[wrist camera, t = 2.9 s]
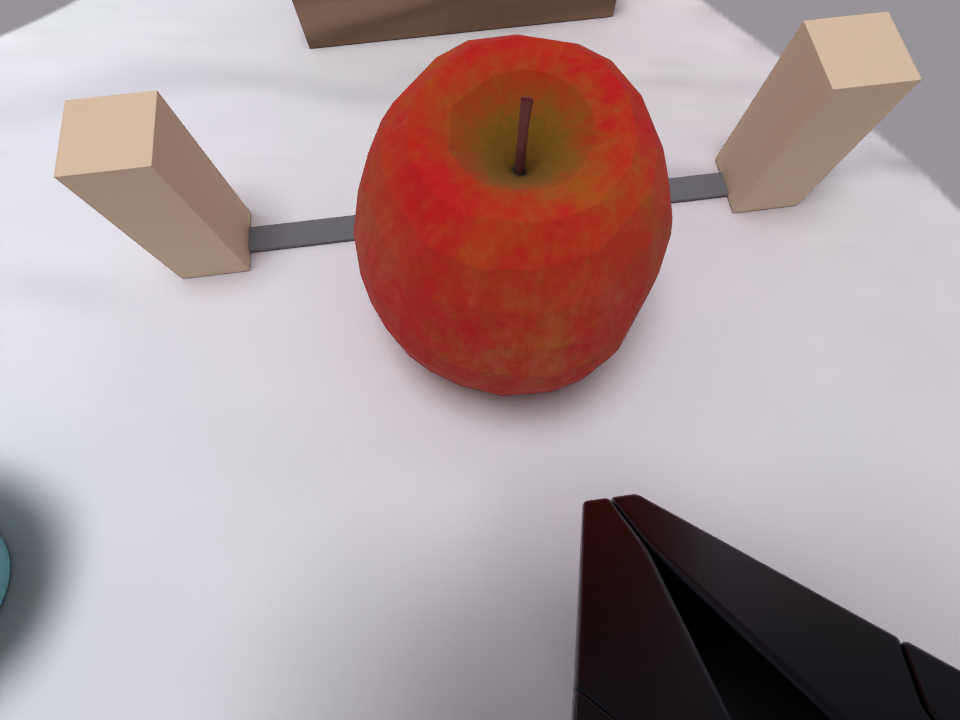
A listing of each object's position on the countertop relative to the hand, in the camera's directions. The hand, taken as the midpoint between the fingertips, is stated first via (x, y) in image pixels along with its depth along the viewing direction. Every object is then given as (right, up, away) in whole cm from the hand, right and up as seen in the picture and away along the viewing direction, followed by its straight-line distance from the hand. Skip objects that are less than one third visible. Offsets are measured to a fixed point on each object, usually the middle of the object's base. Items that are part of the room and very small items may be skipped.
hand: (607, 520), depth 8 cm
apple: (-1, +5, +15) cm, 16 cm away
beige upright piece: (-1, +9, +16) cm, 18 cm away
